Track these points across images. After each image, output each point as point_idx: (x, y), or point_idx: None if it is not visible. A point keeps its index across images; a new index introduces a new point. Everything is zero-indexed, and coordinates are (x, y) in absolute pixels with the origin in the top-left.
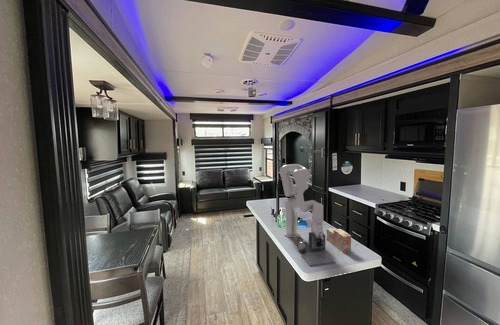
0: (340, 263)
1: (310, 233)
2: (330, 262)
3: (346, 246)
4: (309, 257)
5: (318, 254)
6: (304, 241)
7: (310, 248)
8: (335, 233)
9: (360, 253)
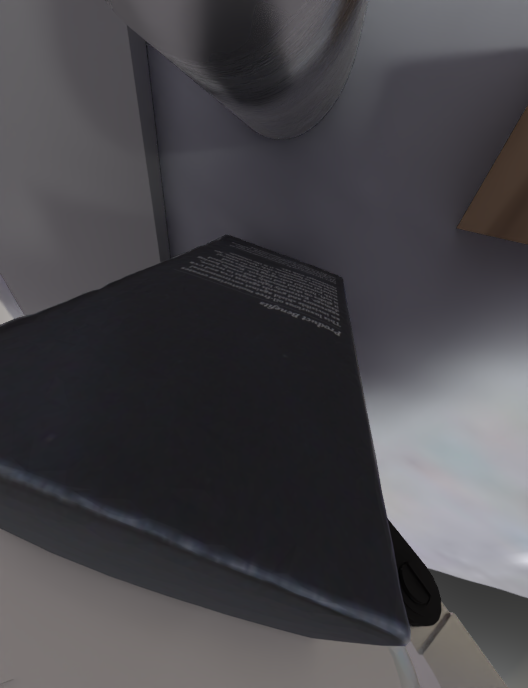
0: None
1: (180, 579)
2: (1, 268)
3: None
4: (17, 35)
5: (121, 256)
6: (244, 10)
7: (250, 243)
8: None
9: None
